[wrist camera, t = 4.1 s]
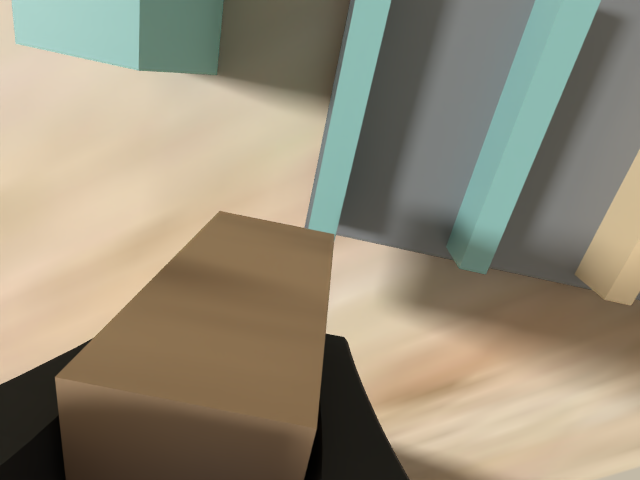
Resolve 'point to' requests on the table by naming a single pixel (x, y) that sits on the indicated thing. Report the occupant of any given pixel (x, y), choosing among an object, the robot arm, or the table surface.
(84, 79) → the table surface
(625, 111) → the slot comb
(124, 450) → the walnut plug
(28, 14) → the teal plug
